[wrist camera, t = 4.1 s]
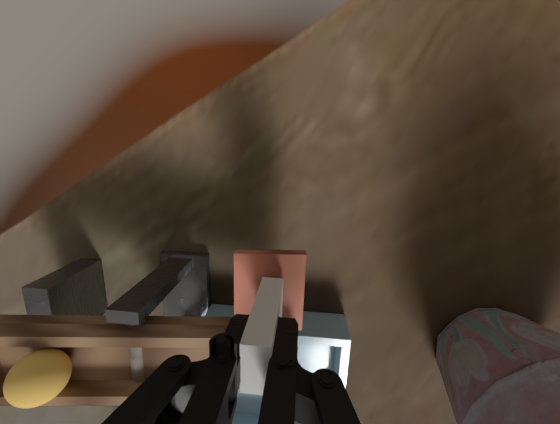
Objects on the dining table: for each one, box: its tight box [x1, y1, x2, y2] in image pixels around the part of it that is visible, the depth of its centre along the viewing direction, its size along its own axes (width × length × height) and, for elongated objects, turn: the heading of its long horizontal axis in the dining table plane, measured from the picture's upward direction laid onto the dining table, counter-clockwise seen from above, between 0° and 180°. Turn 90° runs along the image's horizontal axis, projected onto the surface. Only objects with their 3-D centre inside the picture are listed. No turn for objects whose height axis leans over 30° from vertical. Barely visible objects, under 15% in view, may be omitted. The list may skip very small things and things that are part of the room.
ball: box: [3, 348, 72, 408], centre depth 18 cm, size 4×4×4 cm
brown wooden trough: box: [0, 249, 307, 406], centre depth 19 cm, size 24×12×4 cm, turn 88°
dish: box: [205, 304, 351, 424], centre depth 29 cm, size 15×15×4 cm
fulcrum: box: [105, 250, 210, 407], centre depth 24 cm, size 5×10×10 cm, turn 178°
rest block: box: [22, 259, 107, 316], centre depth 27 cm, size 2×6×6 cm, turn 178°
